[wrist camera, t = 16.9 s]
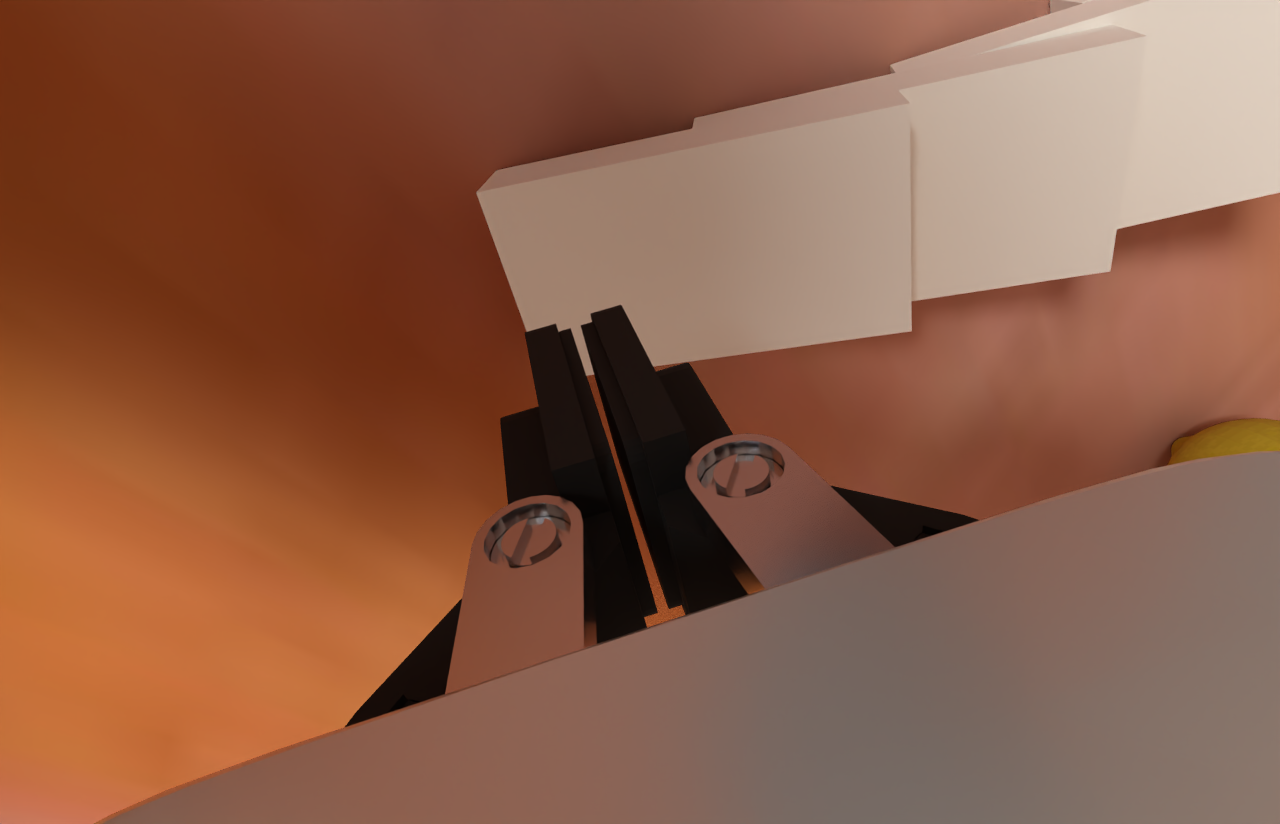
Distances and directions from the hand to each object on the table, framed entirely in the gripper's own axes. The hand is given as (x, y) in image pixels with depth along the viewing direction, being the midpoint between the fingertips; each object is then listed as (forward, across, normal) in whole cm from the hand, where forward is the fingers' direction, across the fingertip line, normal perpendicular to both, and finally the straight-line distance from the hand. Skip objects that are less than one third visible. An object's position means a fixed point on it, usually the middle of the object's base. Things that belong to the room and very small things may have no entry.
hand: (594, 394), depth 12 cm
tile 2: (+6, -4, 0) cm, 8 cm away
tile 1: (+6, +1, 0) cm, 6 cm away
